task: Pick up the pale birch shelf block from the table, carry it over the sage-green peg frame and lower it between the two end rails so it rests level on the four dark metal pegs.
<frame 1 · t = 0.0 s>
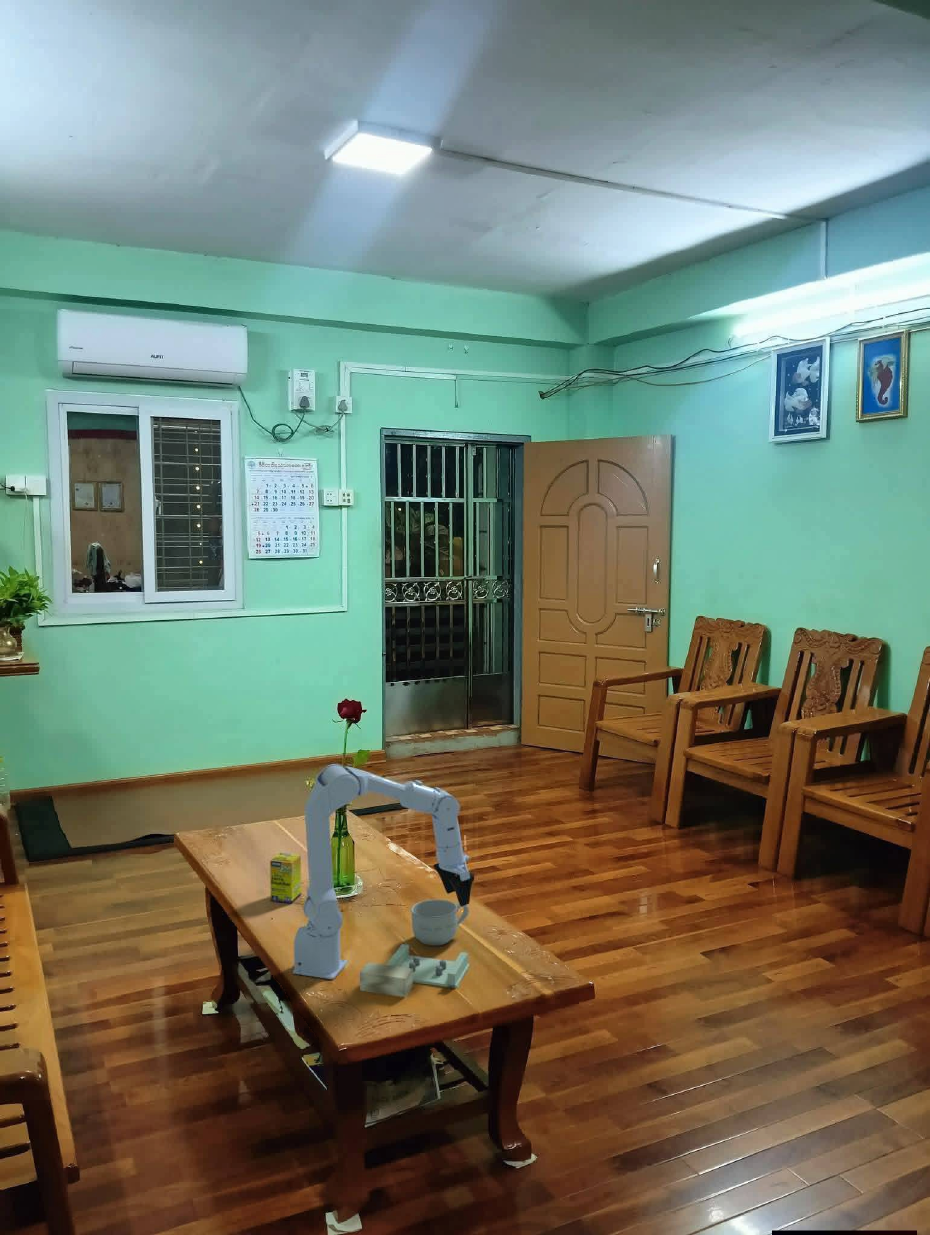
hand: (457, 898, 214), 11 cm above the table, tool pointing down, fingers open, 7 cm apart
supplement box: (286, 899, 240), on the table
teacup: (441, 939, 217), on the table
peg frame: (427, 972, 201), on the table
shelf block: (386, 989, 194), on the table
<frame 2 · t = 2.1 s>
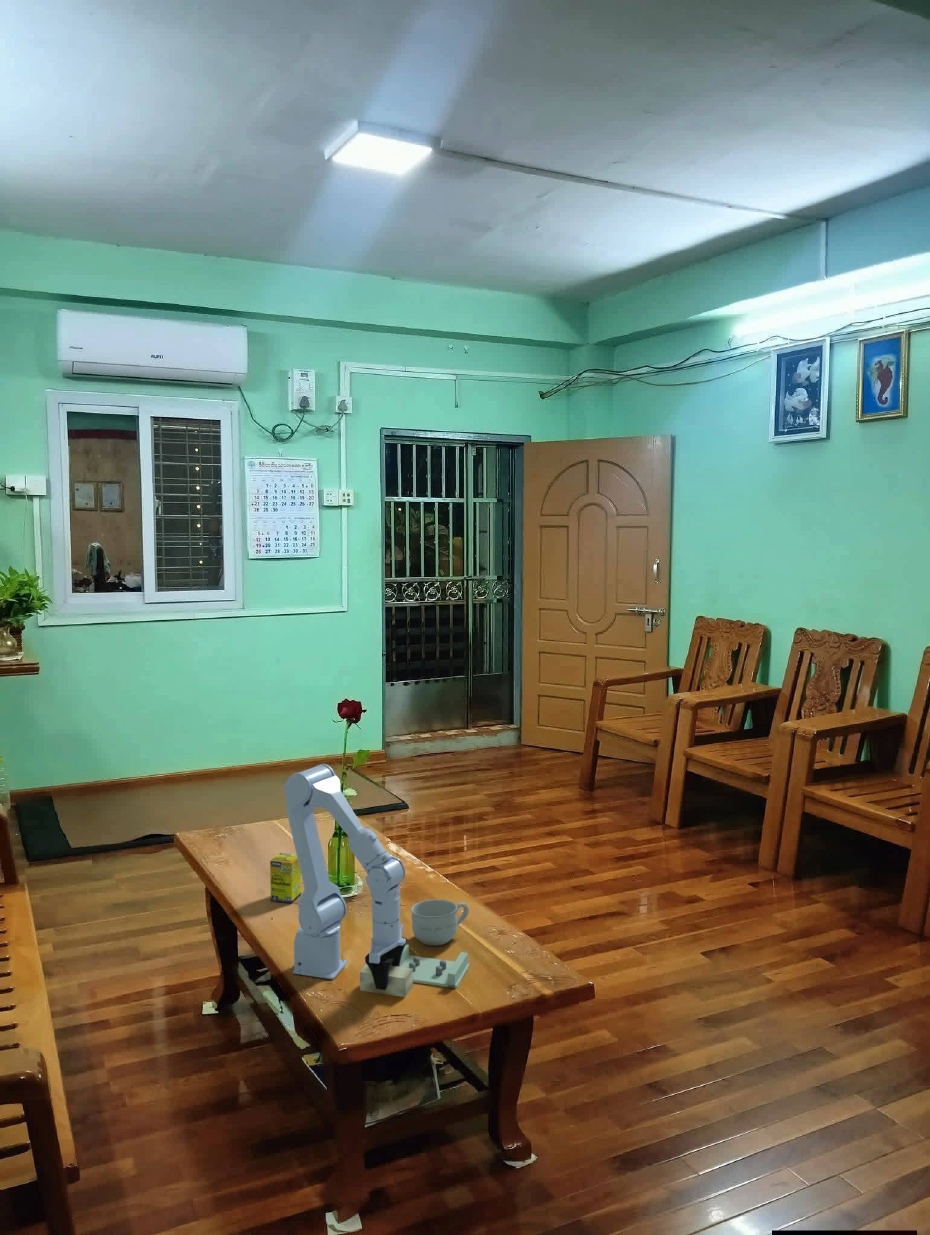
hand: (387, 980, 194), 2 cm above the table, tool pointing down, fingers open, 6 cm apart
nothing on the table moved.
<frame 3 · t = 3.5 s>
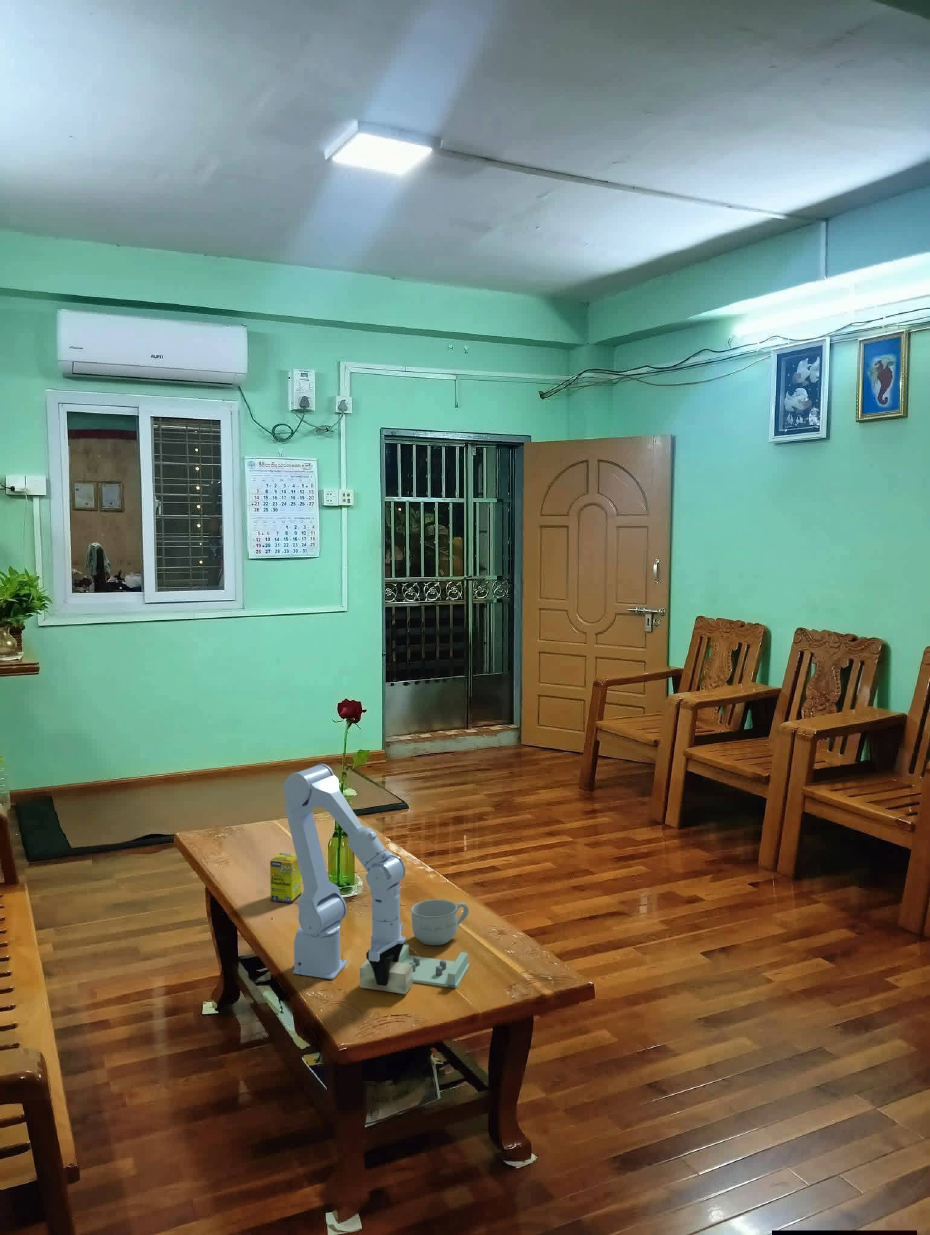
hand: (386, 978, 194), 2 cm above the table, tool pointing down, fingers closed on shelf block, 4 cm apart
shelf block: (386, 985, 194), point 1 cm above the table, touching gripper
everything else where it was.
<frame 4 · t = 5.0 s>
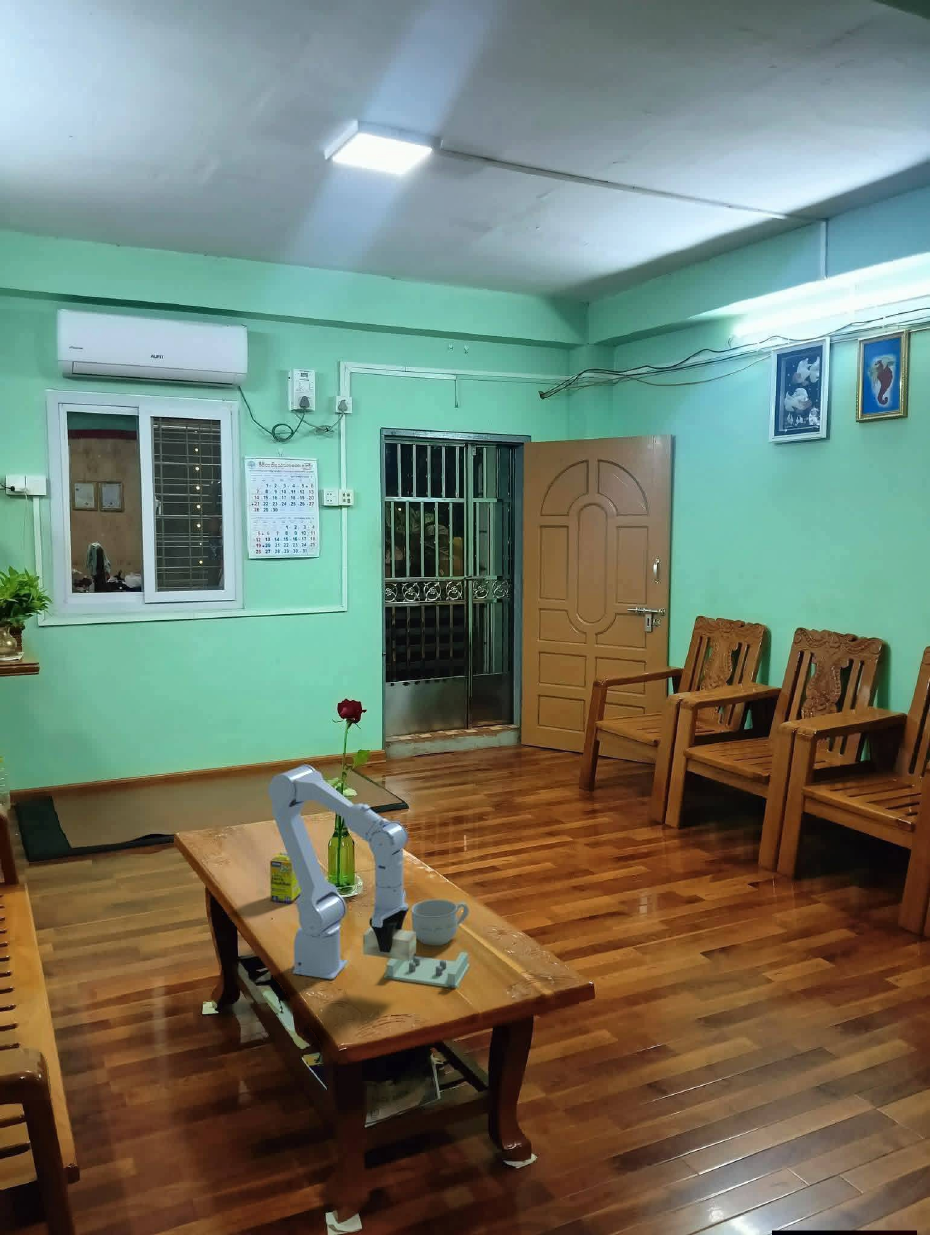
hand: (389, 946, 194), 9 cm above the table, tool pointing down, fingers closed on shelf block, 4 cm apart
shelf block: (389, 952, 194), point 7 cm above the table, touching gripper
everything else where it was.
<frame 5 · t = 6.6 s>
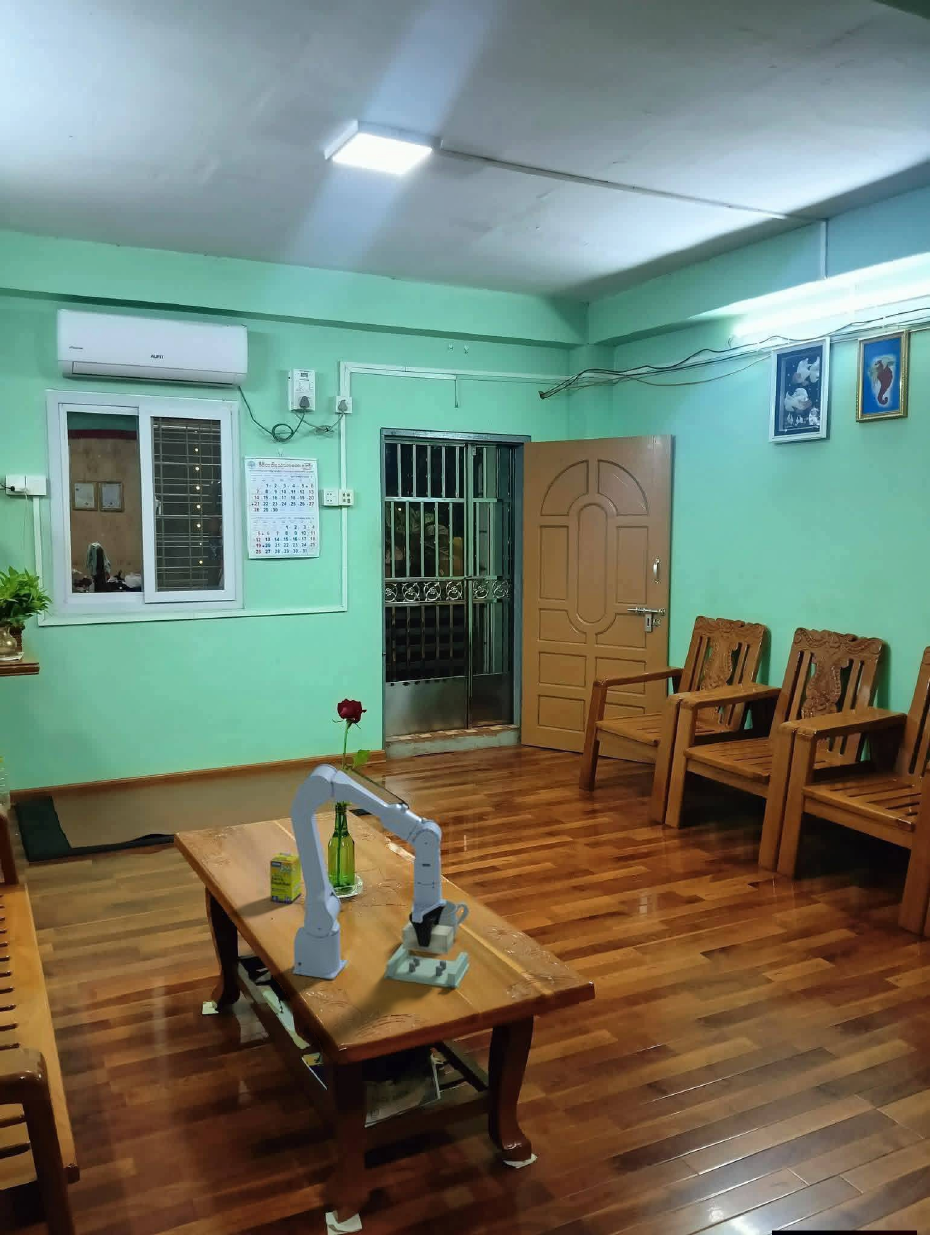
hand: (427, 940, 200), 7 cm above the table, tool pointing down, fingers closed on shelf block, 4 cm apart
shelf block: (427, 947, 200), point 6 cm above the table, touching gripper
everything else where it was.
when the fingers open (4 cm above the table, at t = 7.6 s): shelf block stays where it is, resting on peg frame.
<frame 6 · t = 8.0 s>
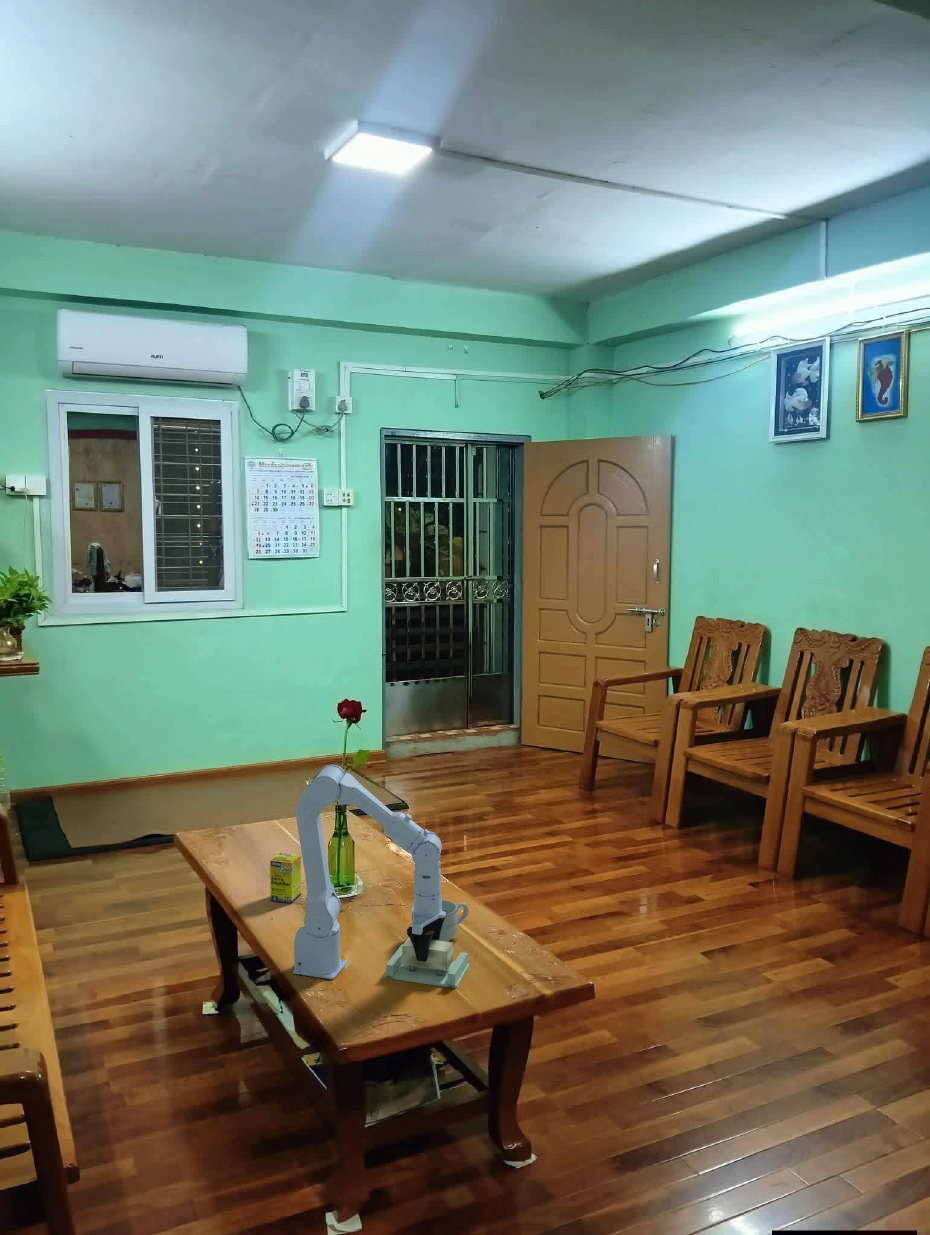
hand: (427, 952, 201), 4 cm above the table, tool pointing down, fingers open, 7 cm apart
shelf block: (427, 962, 201), point 2 cm above the table, touching peg frame
everything else where it was.
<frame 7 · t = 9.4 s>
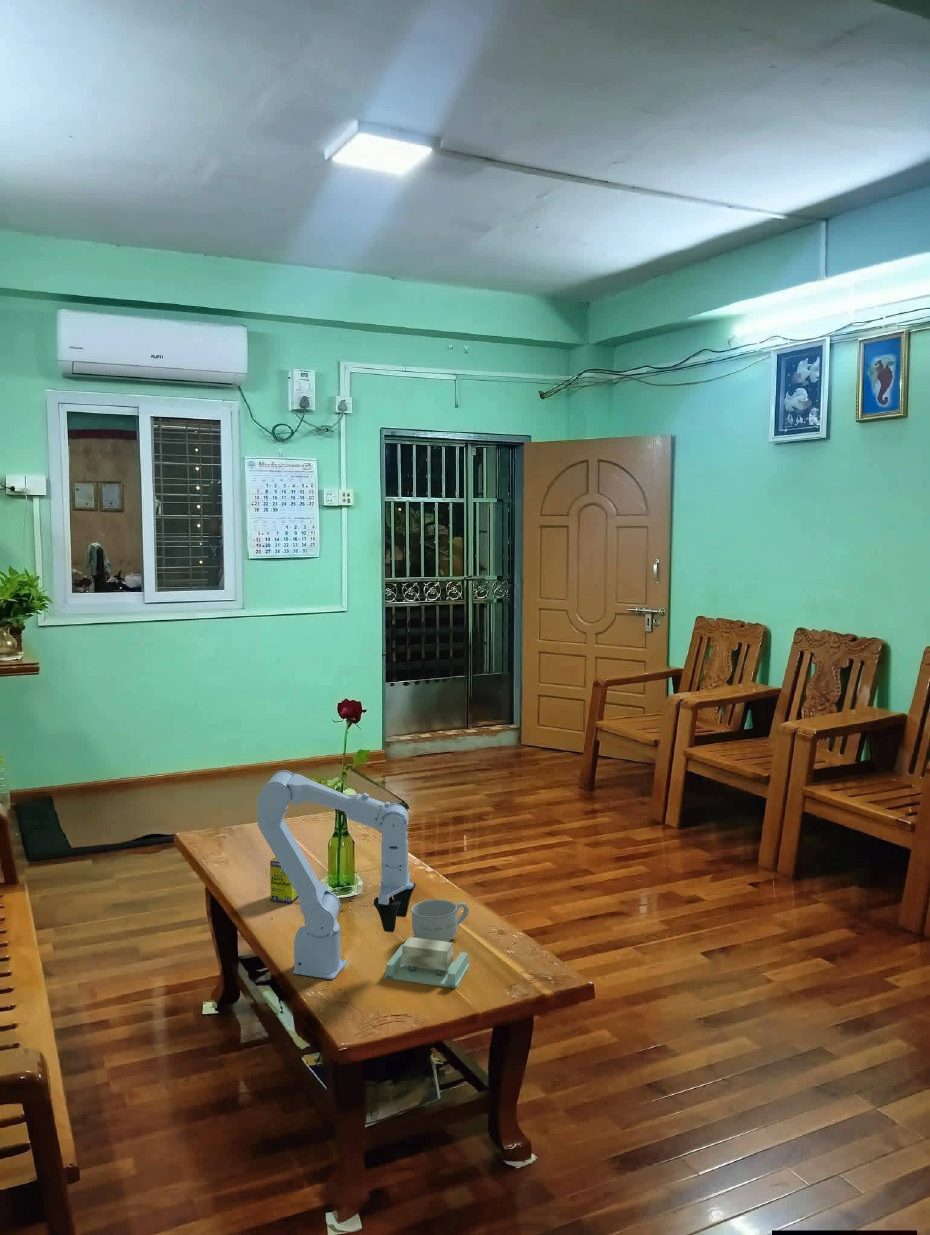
hand: (395, 923, 201), 10 cm above the table, tool pointing down, fingers open, 7 cm apart
nothing on the table moved.
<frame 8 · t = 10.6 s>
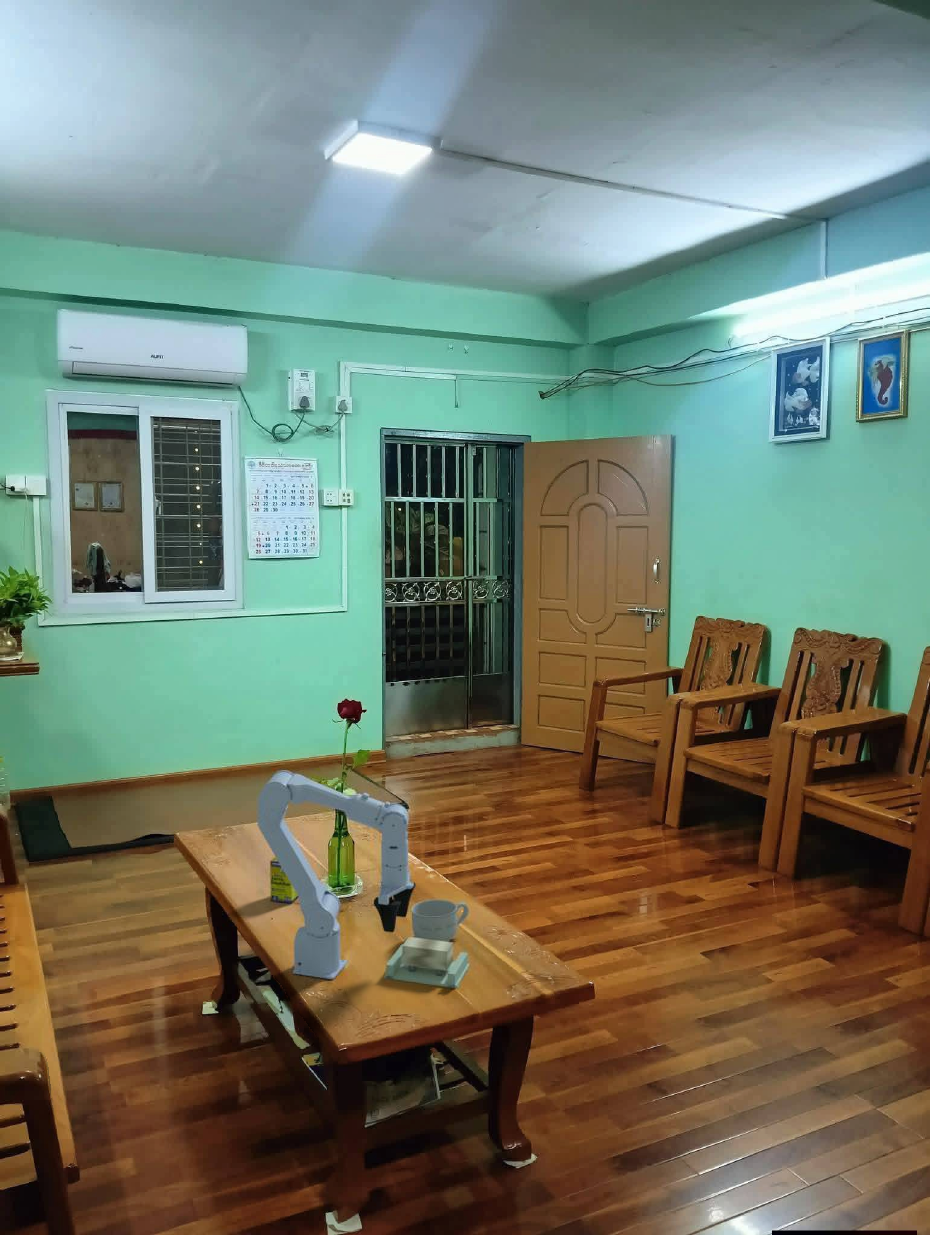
hand: (395, 923, 201), 10 cm above the table, tool pointing down, fingers open, 7 cm apart
nothing on the table moved.
at the end: shelf block 0.0 cm off-centre on the peg frame, point 2.1 cm above the peg frame's base; shelf block tilted 0°; the gripper is holding nothing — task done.
